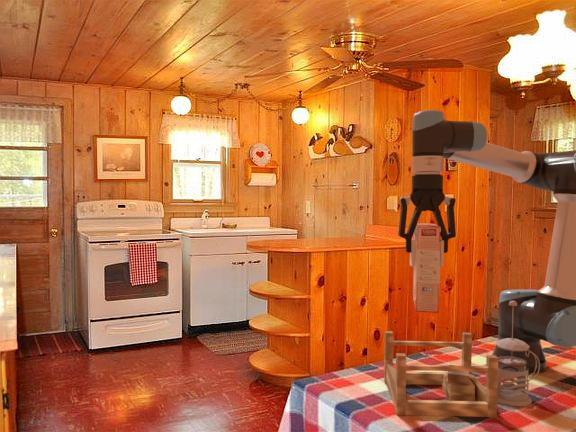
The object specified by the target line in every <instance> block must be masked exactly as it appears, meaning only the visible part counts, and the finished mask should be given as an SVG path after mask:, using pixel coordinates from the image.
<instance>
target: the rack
mask: <svg viewBox="0 0 576 432" xmlns="http://www.w3.org/2000/svg"><path fill="white" fill-rule="evenodd" d="M461 335H462V336H461V341H433V340H432V341H428V340H427V341H422V340H421V341H420V340H394V333H393V331H391V330H389V331H388V330H387V331H386V330H385V331H384V354H383V355H384V356H383V357H384V358H383V359H384V362H383V365H384V366H383V368H384V369H383V371H384V372H383V382H384V385H386V387H387V390H388V392H389V395H390V398H391V400H392V402H393V403H392V404H393V406H394V409H395V411H394V412H395V414H396V416H436V417H437V416H440V417H443V416H445V417H474V418H475V417H476V418H478V417H481V418H498V402H497V389H498V357H497V356H495V355H492V354H486V359H485V360H486V363H485V365H472V349H473V347H472V345H473V344H472V343H473V334H472V333H471V332H462V334H461ZM394 346H399V347H401V346H407V347H409V346H410V347H411V346H412V347H449V348H450V347H452V348H453V347H457V348H458V347H459V348H460V347H461V365H455V366H449V365H450V364H448V365H443V364H442V365H439V364H436V365H435V364H407V355H406V353H405V352H404V353H403V352H401V353H400V352H399V353H398V352H396V354H395V359H396V360H395V365H394V362H393V361H394ZM448 371H466V372H469V379H470V380H471V381H472V383H473V384H474V385H475V401H449V400H434V399H431V400H430V399H406V398H407V397H406V396H407V394H406V392H407V391H406V390H407V389H406V386H407V385H425V386H427V385H431V386H432V385H433V386H436V385H437V386H439V385H440V386H442V383H443V377H444V374H448ZM472 372H474V373H476V372H477V373H478V372H479V373H485V374H486V375H485V386H484V385H483V384H482V383H481V382H480V380H479V379H478V378H477V377H476V376H475V374H473V373H472Z"/></svg>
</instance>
